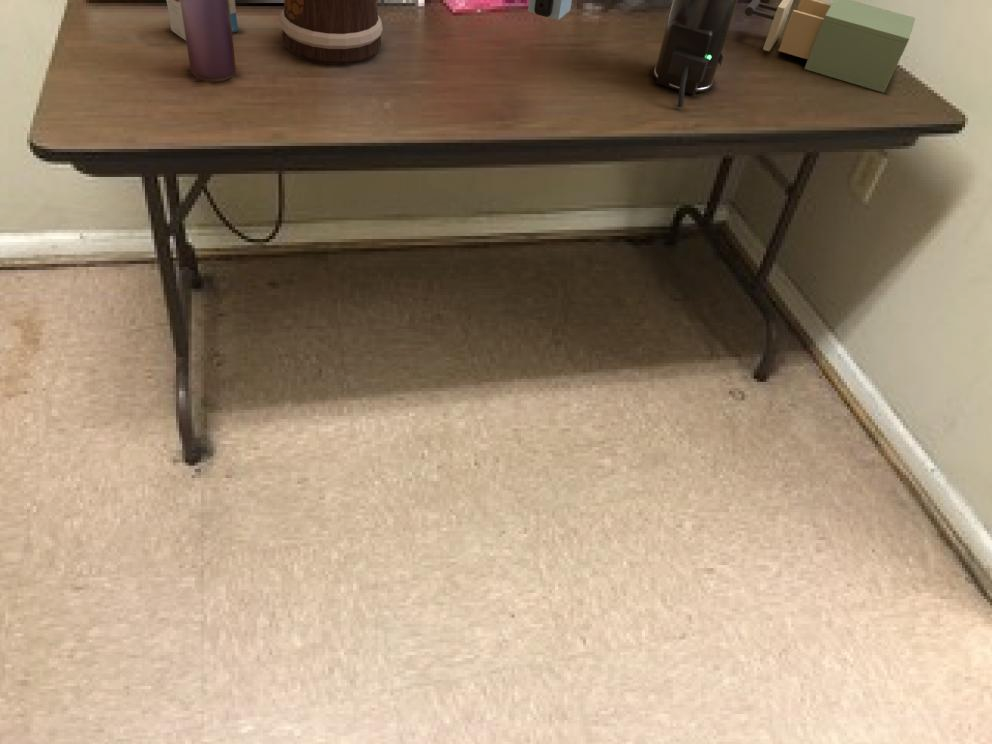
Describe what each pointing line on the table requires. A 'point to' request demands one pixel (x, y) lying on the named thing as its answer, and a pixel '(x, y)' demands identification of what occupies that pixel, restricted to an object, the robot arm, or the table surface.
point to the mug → (331, 29)
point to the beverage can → (209, 39)
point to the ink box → (177, 17)
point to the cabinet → (860, 44)
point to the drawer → (793, 25)
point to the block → (554, 8)
